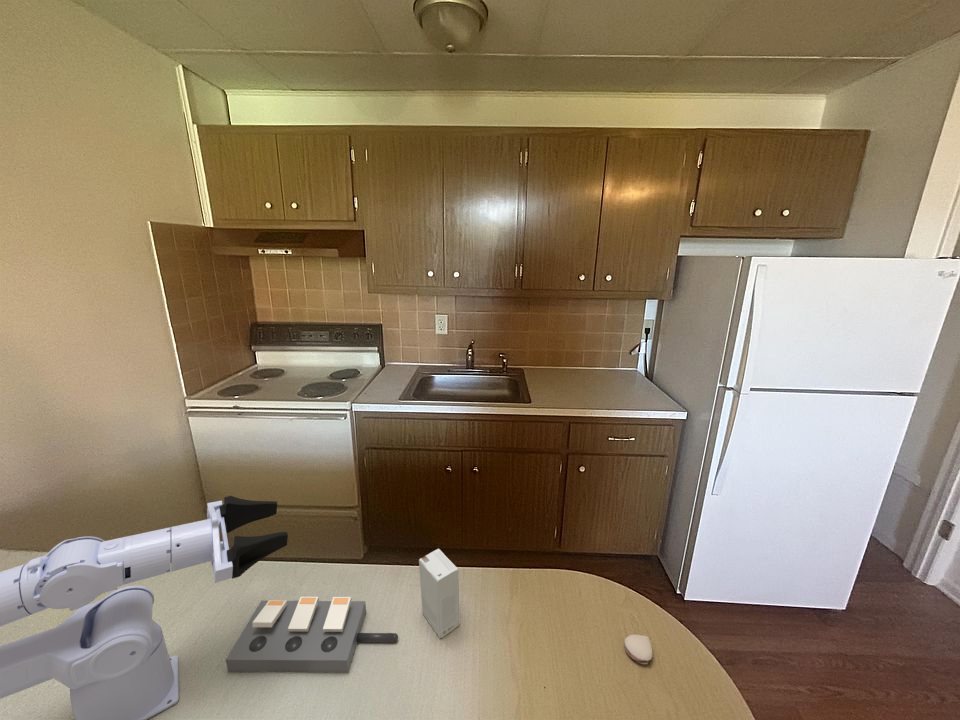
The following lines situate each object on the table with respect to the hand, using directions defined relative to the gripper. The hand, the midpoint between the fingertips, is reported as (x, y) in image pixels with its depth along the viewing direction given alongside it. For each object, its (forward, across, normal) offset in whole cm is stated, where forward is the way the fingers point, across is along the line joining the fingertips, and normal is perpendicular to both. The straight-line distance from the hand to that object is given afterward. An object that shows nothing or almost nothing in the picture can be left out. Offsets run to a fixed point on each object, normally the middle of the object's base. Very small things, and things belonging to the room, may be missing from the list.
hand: (281, 522), depth 61 cm
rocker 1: (+3, -5, +15) cm, 16 cm away
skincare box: (+23, -17, +15) cm, 32 cm away
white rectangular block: (-1, -2, +16) cm, 16 cm away
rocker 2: (+8, -8, +14) cm, 18 cm away
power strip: (+6, -9, +18) cm, 21 cm away
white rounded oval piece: (+46, -40, +9) cm, 61 cm away
